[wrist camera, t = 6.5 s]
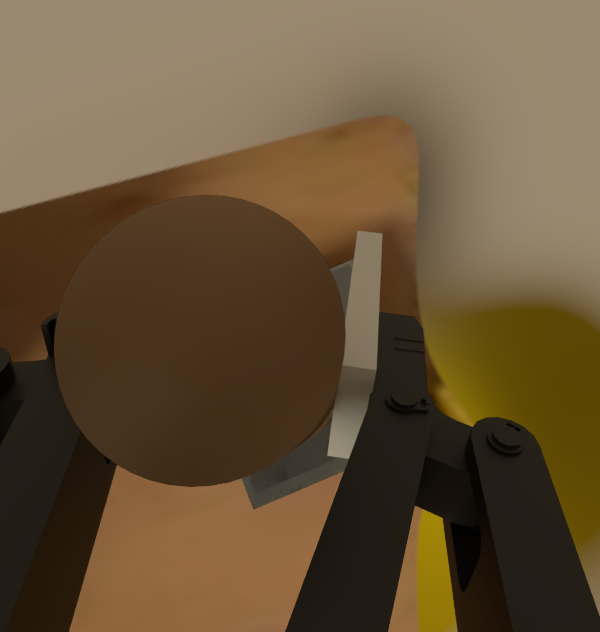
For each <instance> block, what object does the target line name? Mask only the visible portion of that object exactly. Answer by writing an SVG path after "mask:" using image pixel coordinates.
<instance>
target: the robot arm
mask: <svg viewBox="0 0 600 632" xmlns="http://www.w3.org/2000/svg"><path fill="white" fill-rule="evenodd" d="M381 256H382V233H374V232H365V231H358V232H357V239H356V246H355V254H354V261H353V268H352V276H351V283H350V290H349V298H348V305H347V312H346V320H345V329H346V338H345V353H344V359H343V365H342V370H341V376H340V381H339V386H338V391H337V394H336V397H335V402H334V409H333V417H332V424H331V432H330V439H329V447H328V454H327V456H333V457H339V458H346V459H349V460H348V462H347V465H346V468H345V471H344V473H343V476H342V479H341V481H340V484H339V487H338V490H337V492H336V495H335V498H334V501H333V503H332V506H331V509H330V511H329V514H328V517H327V520H326V522H325V525H324V528H323V530H322V533H321V536H320V539H319V541H318V544H317V547H316V549H315V552H314V555H313V558H312V560H311V563H310V566H309V568H308V571H307V574H306V577H305V579H304V582H303V585H302V588H301V590H300V593H299V596H298V598H297V601H296V604H295V607H294V609H293V612H292V615H291V617H290V620H289V623H288V626H287V628H286V631H285V632H388V629H389V624H390V619H391V615H392V610H393V605H394V601H395V596H396V591H397V587H398V582H399V577H400V572H401V568H402V563H403V558H404V554H405V549H406V544H407V540H408V535H409V530H410V525H411V521H412V516H413V511H414V507H415V506H418V507H420V508H422V509H424V510H426V511H429V512H431V513H433V514H435V515H438V516H439V517H442V518H443V523H444V532H445V539H446V547H447V554H448V562H449V569H450V577H451V584H452V592H453V600H454V607H455V615H456V621H457V630H458V632H600V616H599V613H598V610H597V608H596V605H595V602H594V599H593V596H592V594H591V591H590V588H589V585H588V582H587V579H586V576H585V573H584V571H583V568H582V565H581V562H580V559H579V556H578V554H577V551H576V548H575V545H574V542H573V539H572V536H571V534H570V531H569V528H568V525H567V522H566V519H565V517H564V514H563V511H562V508H561V505H560V502H559V500H558V497H557V494H556V491H555V488H554V485H553V482H552V479H551V477H550V474H549V471H548V468H547V465H546V463H545V460H544V457H543V454H542V451H541V448H540V446H539V444H538V442H537V440H536V439H535V437H534V435H532V434H531V433H530V432H529V431H528V430H527V429H526V428H524V427H523V426H521V425H519V424H517V423H515V422H513V421H511V420H507V419H503V418H499V417H492V418H484V419H482V420H479V421H477V422H476V423H475V425H474V426H473V427H471V426H469V425H466V424H464V423H461V422H458V421H456V420H454V419H452V418H450V417H448V416H446V415H445V414H443V413H442V412H440V411H439V410H438V409H437V408H436V407H435V406H434V402H433V400H432V399H431V397H430V395H429V394H428V389H427V376H426V363H425V355H424V353H425V350H424V337H423V328H422V327H421V326H420V324H419V323H418V321H417V320H416V319H415V317H413V316H405V315H398V314H390V313H382V312H379V302H380V279H381ZM57 316H58V312H57V313H55V314H53V315H51V316H50V317H48V318H47V319H46V320H45V321H44V322H43V323H42V324H41V328H42V331H43V335H44V339H45V343H46V347H47V351H48V357H47V359H46V360H39V361H27V362H13V363H12V361H11V358H10V355H9V353H8V352H7V351H6V350H5V349H4V348H1V347H0V632H69V629H70V626H71V622H72V619H73V615H74V612H75V608H76V605H77V601H78V598H79V594H80V591H81V587H82V584H83V580H84V577H85V574H86V570H87V567H88V563H89V560H90V556H91V553H92V549H93V546H94V542H95V539H96V535H97V532H98V528H99V525H100V521H101V518H102V514H103V511H104V508H105V504H106V501H107V497H108V494H109V490H110V487H111V483H112V480H113V476H114V473H115V469H116V466H117V464H115V463H114V462H113V461H111V460H110V459H109V458H107V457H106V456H105V455H103V454H102V453H101V452H100V451H99V450H98V449H97V448H96V447H95V446H94V445H93V444H92V443H91V442H90V441H89V440H88V439H87V438H86V437H85V435H84V434H83V433H82V431H81V430H80V428H79V427H78V426H77V424H76V423H75V421H74V419H73V417H72V416H71V414H70V412H69V410H68V408H67V406H66V404H65V401H64V398H63V396H62V393H61V390H60V387H59V383H58V378H57V374H56V369H55V357H54V338H55V328H56V322H57Z"/></svg>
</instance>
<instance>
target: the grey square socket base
mask: <svg viewBox="0 0 600 632" xmlns="http://www.w3.org/2000/svg"><path fill="white" fill-rule="evenodd" d="M353 261H354V259H352V260H350V261H348V262H345V263H343V264H341V265H338V266H336V267H333V268H331V269H330V270H331V272H332V274H333V276H334V278H335V281H336V284H337V287H338V290H339V293H340V295H341V300H342V305H343V310H344V315H345V320H346V312H347V305H348V298H349V290H350V283H351V276H352V268H353ZM379 312H380V309H379ZM332 417H333V413H332V415H331V417H330V419H329V421H328V422H327V424H326V425H325V426H324V427H323V428H322V430H320V431H319V432H318V433H317V434H316V435H314V436H313V437H311V438H310V439H308V440H307V441H305V442H304V443H302V444H301V445H299V446H298V447H296V448H295V449H294V450H292V451H291V452H289V453H288V454H286V455H285V456H283V457H282V458H280V459H279V460H277V461H276V462H274V463H273V464H271V465H270V466H268V467H266V468H264V469H262V470H260V471H258V472H256V473H254V474H252V475H250V476H247V477H244V478H242V480H243V483H244V486H245V488H246V491H247V494H248V496H249V499H250V502H251V504H252V507H253V510H254V509H256V508H258V507H261V506H263V505H265V504H268V503H270V502H272V501H275V500H277V499H279V498H282V497H284V496H286V495H289V494H291V493H293V492H296V491H298V490H300V489H303V488H305V487H307V486H310V485H312V484H314V483H317V482H319V481H321V480H324V479H326V478H328V477H331V476H333V475H335V474H338V473H340V472H342V471H345V468H346V465H347V462H348V460H349V459H346V458H339V457H333V456H327V454H328V447H329V439H330V432H331V424H332Z"/></svg>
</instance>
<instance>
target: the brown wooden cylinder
mask: <svg viewBox="0 0 600 632" xmlns="http://www.w3.org/2000/svg"><path fill="white" fill-rule="evenodd" d="M345 338H346V329H345V315H344V310H343V305H342V300H341V295H340V293H339V290H338V287H337V284H336V281H335V278H334V276H333V274H332V272H331V270H330V268H329V266H328V264H327V263H326V261H325V259H324V258H323V257H322V255H321V254H320V252H319V251H318V249H317V248H316V246H315V245H314V244H313V243H312V242H311V241H310V240H309V239H308V238H307V237H306V236H305V234H304V233H303V232H301V231H300V230H299V229H298V228H297V227H295V226H294V225H293V224H292V223H291V222H289V221H288V220H286V219H285V218H283V217H282V216H280V215H278V214H277V213H275V212H273V211H271V210H269V209H267V208H265V207H263V206H260V205H258V204H255V203H252V202H249V201H246V200H243V199H238V198H233V197H227V196H217V195H196V196H185V197H180V198H175V199H170V200H167V201H164V202H161V203H158V204H155V205H152V206H149V207H147V208H145V209H143V210H141V211H139V212H137V213H135V214H133V215H131V216H130V217H128V218H127V219H125V220H123V221H122V222H120V223H119V224H117V225H116V226H115V227H114V228H112V229H111V230H110V231H109V232H107V233H106V234H105V235H104V236H103V237H102V238H101V239H100V240H99V241H98V242H97V243H96V244H95V245H94V246H93V247H92V248H91V250H90V251H89V252H88V253H87V255H86V256H85V257H84V259H83V260H82V261H81V263H80V264H79V266H78V268H77V269H76V271H75V273H74V274H73V276H72V278H71V280H70V282H69V284H68V286H67V289H66V291H65V293H64V295H63V298H62V302H61V305H60V308H59V312H58V316H57V322H56V328H55V338H54V357H55V369H56V374H57V378H58V383H59V387H60V390H61V393H62V396H63V398H64V401H65V404H66V406H67V408H68V410H69V412H70V414H71V416H72V417H73V419H74V421H75V423H76V424H77V426H78V427H79V428H80V430H81V431H82V433H83V434H84V435H85V437H86V438H87V439H88V440H89V441H90V442H91V443H92V444H93V445H94V446H95V447H96V448H97V449H98V450H99V451H100V452H101V453H102V454H103V455H105V456H106V457H107V458H109V459H110V460H111V461H113V462H114V463H115V464H117V465H119V466H120V467H122V468H124V469H126V470H127V471H129V472H131V473H133V474H136V475H138V476H141V477H143V478H146V479H148V480H151V481H155V482H160V483H164V484H168V485H176V486H187V487H195V486H211V485H217V484H222V483H228V482H232V481H235V480H238V479H241V478H244V477H247V476H250V475H252V474H254V473H256V472H258V471H260V470H262V469H264V468H266V467H268V466H270V465H271V464H273V463H274V462H276V461H277V460H279V459H280V458H282V457H283V456H285V455H286V454H288V453H289V452H291V451H292V450H294V449H295V448H296V447H298V446H299V445H301V444H302V443H304V442H305V441H307V440H308V439H310V438H311V437H313V436H314V435H316V434H317V433H318V432H319V431H320V430H322V428H323V427H324V426H325V425H326V424H327V422H328V421H329V419H330V417H331V415H332V413H333V409H334V402H335V397H336V394H337V391H338V386H339V381H340V376H341V370H342V365H343V359H344V353H345Z"/></svg>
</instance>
